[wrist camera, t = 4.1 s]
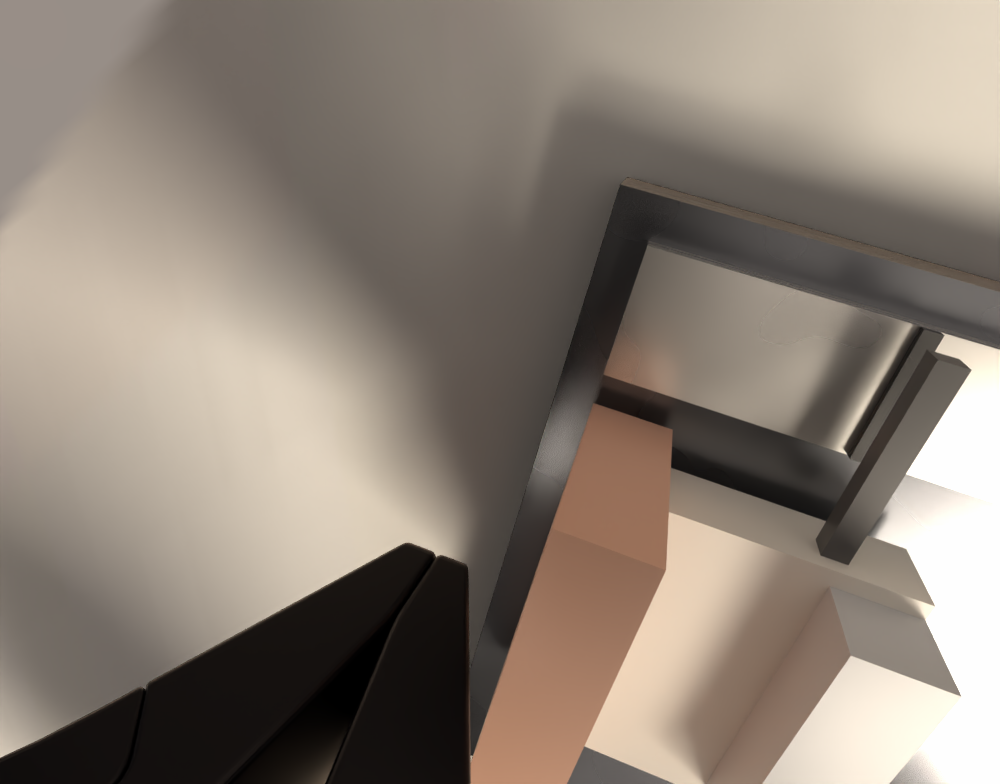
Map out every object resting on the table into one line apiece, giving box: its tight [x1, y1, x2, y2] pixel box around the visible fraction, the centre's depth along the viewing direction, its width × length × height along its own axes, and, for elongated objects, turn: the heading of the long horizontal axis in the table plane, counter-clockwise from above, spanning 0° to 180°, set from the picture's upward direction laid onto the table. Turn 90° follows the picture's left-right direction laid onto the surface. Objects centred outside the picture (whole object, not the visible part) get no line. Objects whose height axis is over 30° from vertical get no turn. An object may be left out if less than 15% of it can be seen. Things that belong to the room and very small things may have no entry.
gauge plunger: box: [471, 349, 971, 784], centre depth 7 cm, size 7×4×3 cm, turn 167°
